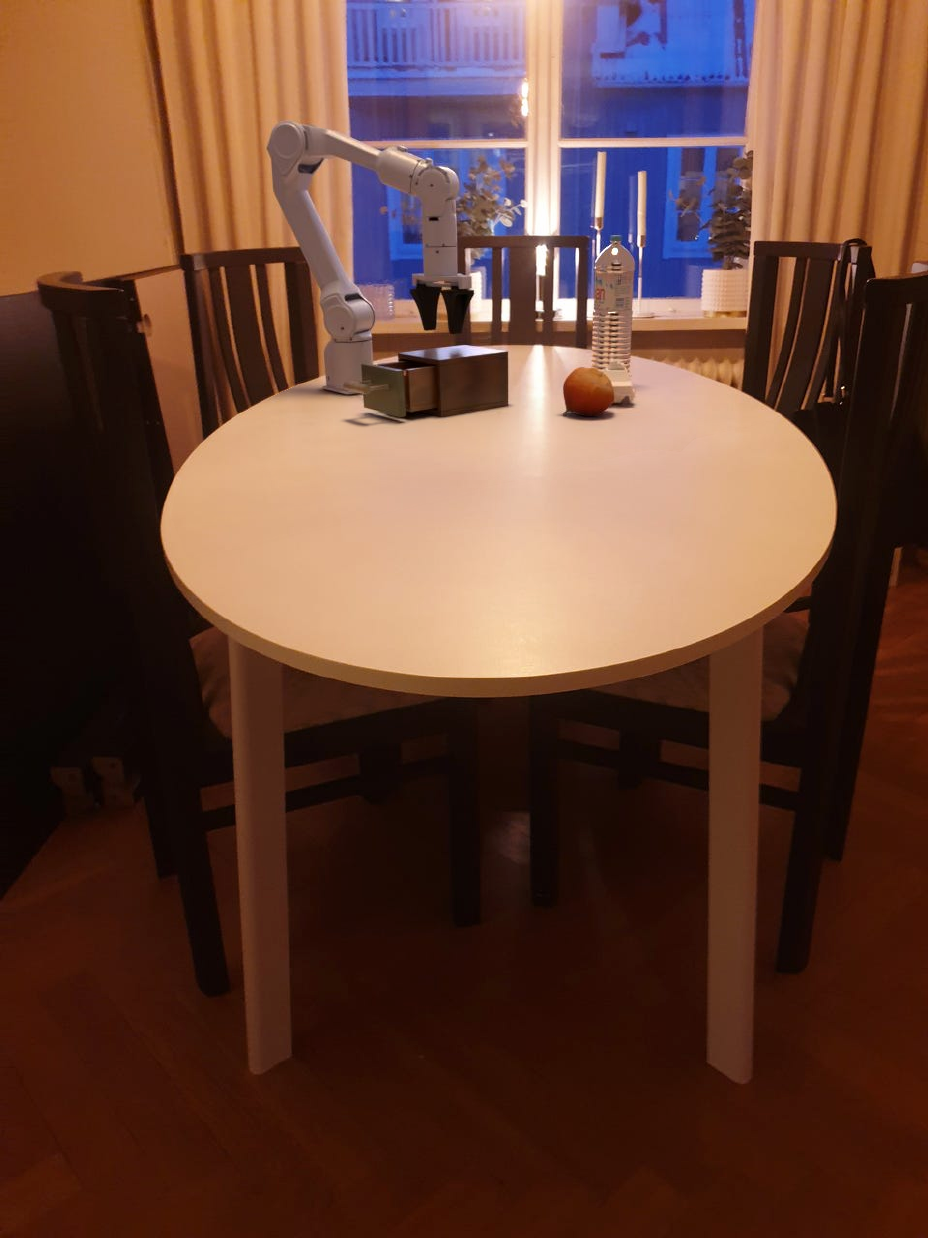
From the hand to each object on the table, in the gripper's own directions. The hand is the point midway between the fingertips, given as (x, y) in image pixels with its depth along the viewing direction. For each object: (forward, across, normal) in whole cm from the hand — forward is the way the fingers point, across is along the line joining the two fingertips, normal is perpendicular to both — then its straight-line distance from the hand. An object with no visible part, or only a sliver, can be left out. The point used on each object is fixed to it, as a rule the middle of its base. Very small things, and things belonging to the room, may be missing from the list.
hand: (442, 331), depth 155 cm
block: (+8, -11, +16) cm, 21 cm away
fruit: (+11, -31, -5) cm, 33 cm away
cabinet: (+10, -11, +6) cm, 16 cm away
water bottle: (+11, -16, -25) cm, 32 cm away
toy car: (+11, -26, -16) cm, 32 cm away
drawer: (+9, -11, +16) cm, 22 cm away
